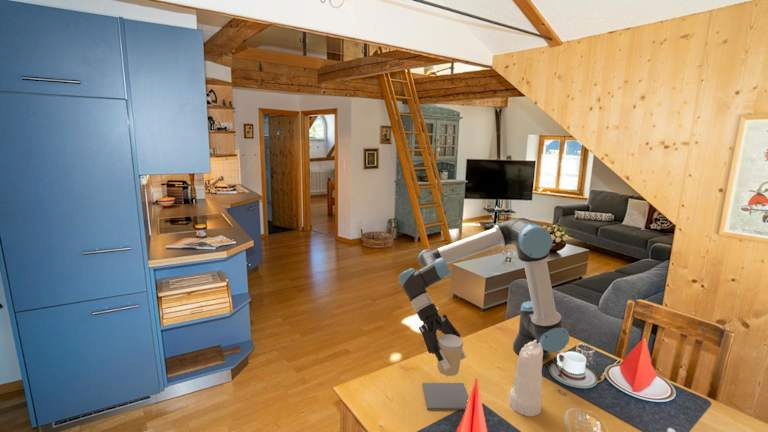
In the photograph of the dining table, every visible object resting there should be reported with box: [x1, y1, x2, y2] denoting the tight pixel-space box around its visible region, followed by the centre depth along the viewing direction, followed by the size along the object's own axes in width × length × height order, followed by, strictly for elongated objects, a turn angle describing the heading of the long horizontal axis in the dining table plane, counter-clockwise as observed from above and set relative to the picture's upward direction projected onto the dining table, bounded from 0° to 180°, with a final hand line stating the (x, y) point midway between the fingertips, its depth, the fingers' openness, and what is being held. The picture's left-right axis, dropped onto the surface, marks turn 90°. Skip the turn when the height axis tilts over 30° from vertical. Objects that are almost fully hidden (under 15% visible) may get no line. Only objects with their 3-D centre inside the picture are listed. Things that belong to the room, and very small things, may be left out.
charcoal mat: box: [422, 382, 469, 411], centre depth 147 cm, size 16×14×1 cm
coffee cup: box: [437, 334, 464, 377], centre depth 144 cm, size 9×9×12 cm
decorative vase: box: [508, 340, 543, 417], centre depth 141 cm, size 11×11×25 cm
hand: (456, 363), depth 142 cm, fingers closed on coffee cup, 9 cm apart
